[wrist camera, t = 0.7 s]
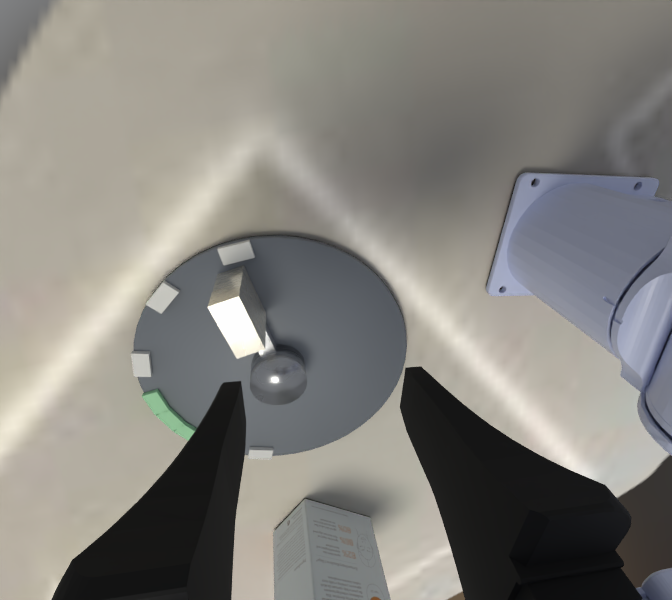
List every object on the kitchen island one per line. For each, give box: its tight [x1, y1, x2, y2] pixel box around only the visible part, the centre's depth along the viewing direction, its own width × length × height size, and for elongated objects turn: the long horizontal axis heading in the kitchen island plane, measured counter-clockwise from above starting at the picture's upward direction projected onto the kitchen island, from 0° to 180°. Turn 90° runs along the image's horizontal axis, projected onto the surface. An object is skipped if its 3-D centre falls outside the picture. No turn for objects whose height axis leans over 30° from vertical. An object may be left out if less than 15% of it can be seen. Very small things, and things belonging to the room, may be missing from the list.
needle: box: [208, 265, 307, 405], centre depth 22 cm, size 9×4×4 cm, turn 16°
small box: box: [273, 499, 390, 600], centre depth 31 cm, size 8×6×10 cm
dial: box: [131, 235, 407, 459], centre depth 25 cm, size 18×18×1 cm
